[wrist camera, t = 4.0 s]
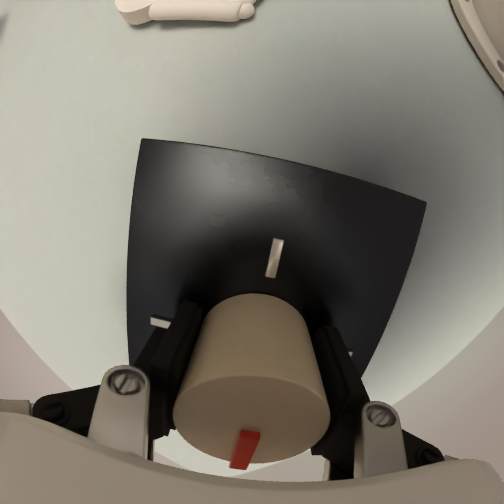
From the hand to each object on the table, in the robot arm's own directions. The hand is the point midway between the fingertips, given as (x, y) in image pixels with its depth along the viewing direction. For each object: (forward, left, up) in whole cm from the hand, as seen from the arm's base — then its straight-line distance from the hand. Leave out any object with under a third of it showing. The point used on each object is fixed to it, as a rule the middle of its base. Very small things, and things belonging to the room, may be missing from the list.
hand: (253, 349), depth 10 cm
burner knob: (0, 0, 0) cm, 0 cm away
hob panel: (0, 0, -4) cm, 4 cm away
